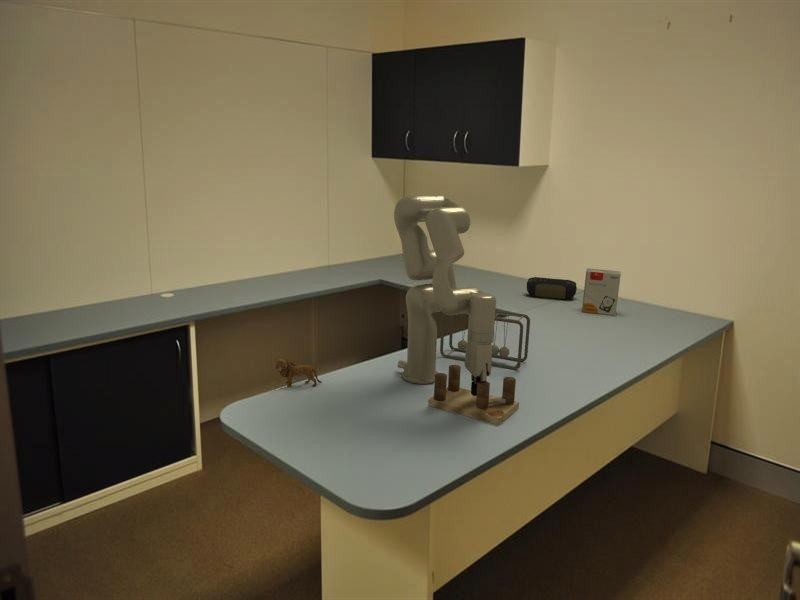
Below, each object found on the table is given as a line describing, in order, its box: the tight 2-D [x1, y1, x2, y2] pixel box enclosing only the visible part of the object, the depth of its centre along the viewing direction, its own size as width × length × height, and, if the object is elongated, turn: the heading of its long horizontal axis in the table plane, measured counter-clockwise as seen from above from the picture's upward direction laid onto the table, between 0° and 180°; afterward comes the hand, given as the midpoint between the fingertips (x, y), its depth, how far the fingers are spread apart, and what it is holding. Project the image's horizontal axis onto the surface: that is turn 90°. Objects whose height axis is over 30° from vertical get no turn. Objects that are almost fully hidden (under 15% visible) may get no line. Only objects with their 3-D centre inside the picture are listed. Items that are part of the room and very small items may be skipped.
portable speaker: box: [526, 276, 578, 300], centre depth 331 cm, size 25×10×10 cm, turn 73°
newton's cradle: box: [439, 310, 531, 371], centre depth 233 cm, size 30×10×18 cm, turn 65°
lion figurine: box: [274, 358, 323, 388], centre depth 205 cm, size 15×5×9 cm, turn 103°
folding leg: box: [476, 376, 517, 408], centre depth 188 cm, size 13×4×7 cm, turn 115°
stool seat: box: [427, 364, 520, 425], centre depth 191 cm, size 23×14×10 cm, turn 58°
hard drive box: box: [581, 267, 622, 316], centre depth 304 cm, size 16×8×20 cm, turn 73°
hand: (476, 394), depth 192 cm, fingers closed
